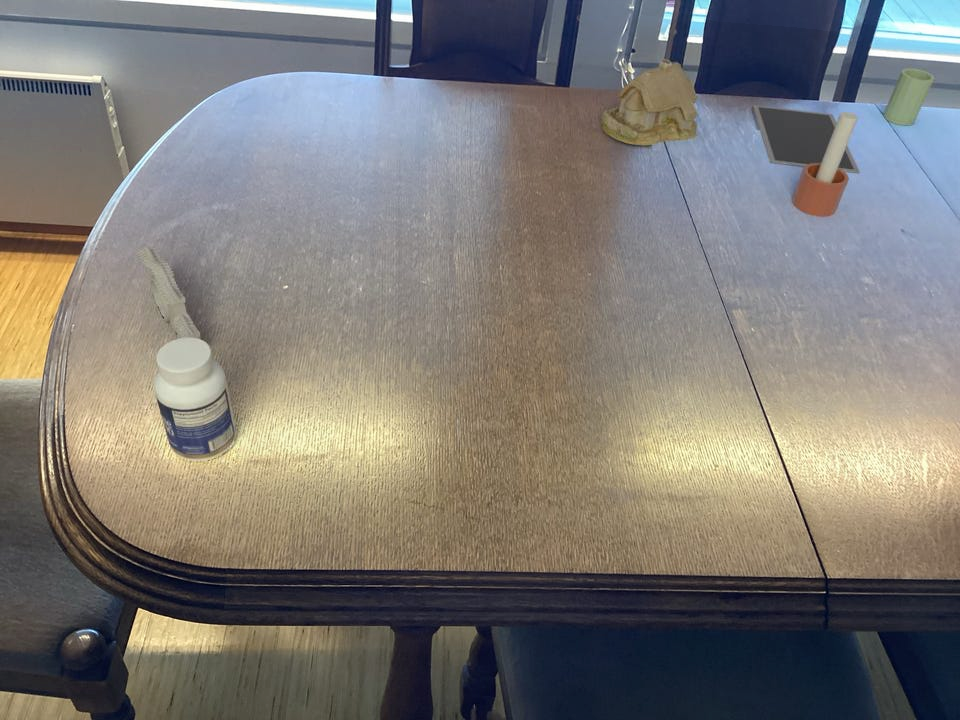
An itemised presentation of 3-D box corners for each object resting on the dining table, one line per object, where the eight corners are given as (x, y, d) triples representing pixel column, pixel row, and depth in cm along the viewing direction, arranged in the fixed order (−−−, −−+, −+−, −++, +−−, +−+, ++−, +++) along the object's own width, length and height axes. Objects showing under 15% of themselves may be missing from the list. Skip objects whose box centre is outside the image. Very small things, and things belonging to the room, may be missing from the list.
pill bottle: (171, 421, 70) (148, 334, 63) (236, 414, 71) (220, 327, 64) (168, 469, 66) (143, 381, 59) (237, 460, 67) (220, 374, 60)
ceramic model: (656, 104, 124) (672, 38, 117) (712, 135, 117) (731, 67, 111) (587, 124, 117) (598, 55, 111) (641, 158, 111) (657, 86, 104)
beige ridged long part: (206, 356, 76) (196, 306, 72) (187, 363, 75) (175, 312, 71) (165, 287, 83) (153, 238, 79) (147, 292, 82) (134, 243, 78)
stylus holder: (829, 200, 106) (843, 165, 102) (838, 222, 102) (853, 187, 98) (787, 195, 106) (800, 160, 103) (794, 217, 102) (808, 182, 99)
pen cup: (909, 114, 128) (929, 70, 123) (917, 127, 124) (938, 82, 120) (879, 110, 128) (898, 66, 123) (887, 123, 125) (906, 79, 120)
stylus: (820, 201, 104) (855, 112, 96) (823, 209, 103) (859, 120, 95) (804, 199, 104) (838, 110, 96) (807, 207, 103) (842, 118, 95)
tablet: (830, 119, 124) (832, 113, 124) (857, 177, 111) (860, 171, 110) (751, 109, 125) (753, 104, 124) (768, 166, 112) (770, 161, 111)
